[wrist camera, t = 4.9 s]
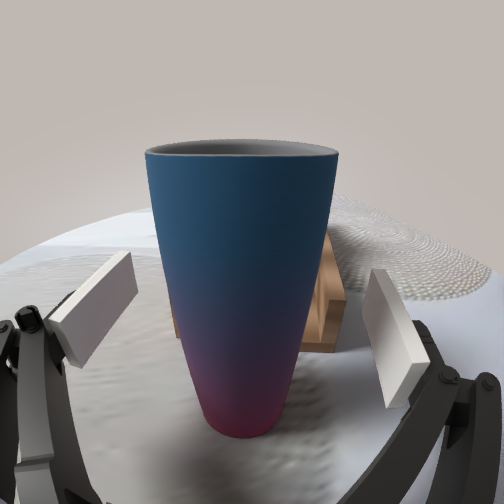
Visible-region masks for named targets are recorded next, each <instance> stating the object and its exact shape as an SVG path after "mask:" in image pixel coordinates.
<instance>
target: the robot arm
mask: <svg viewBox="0 0 504 504" xmlns="http://www.w3.org/2000/svg"><path fill="white" fill-rule="evenodd" d="M137 293H138V289H137V284H136V279H135V274H134V269H133V264H132V258H131V253H130V251H120V250H119V251H118V252H117V253H116V254H115V255H114V256H113V257H111V258H110V259H109V260H108V261H107V262H106V263H105V264H104V265H103V266H102V267H100V268H99V269H98V270H97V271H96V272H95V273H94V274H93V275H92V276H91V277H90V278H89V279H88V280H87V281H86V282H84V283H83V284H82V285H81V286H80V287H79V288H78V289H77V290H75V291H73V292H72V293H70V294H68V295H67V296H66V297H65V298H64V299H63V300H62V302H60V303H59V304H58V306H56V307H55V308H54V309H53V310H52V311H51V312H50V313H49V314H48V315H47V316H46V317H45V318H44V319H43V320H42V318H41V315H40V313H39V311H38V308H37V307H36V306H33V305H29V306H25V307H23V308H21V309H20V310H19V311H18V312H17V313H16V314H15V319H16V321H17V323H18V326H19V328H20V329H15V327H14V325H13V323H12V321H10V320H4V321H0V504H14V499H15V488H16V485H17V490H18V495H19V500H20V504H102V502H101V500H100V498H99V496H98V495H97V494H96V492H95V491H94V489H93V488H92V486H91V484H90V481H89V478H88V475H87V472H86V469H85V465H84V462H83V459H82V455H81V451H80V448H79V444H78V440H77V436H76V431H75V427H74V422H73V417H72V412H71V407H70V401H69V395H68V389H67V382H66V374H65V366H64V363H63V361H62V360H63V358H64V357H65V356H66V358H67V359H68V361H69V363H70V365H73V366H75V367H78V368H81V369H82V368H83V366H84V365H85V364H86V362H87V361H88V359H89V358H90V356H91V355H92V354H93V352H94V351H95V349H96V348H97V347H98V345H99V344H100V342H101V341H102V340H103V338H104V337H105V335H106V334H107V333H108V331H109V330H110V329H111V327H112V326H113V325H114V323H115V322H116V321H117V319H118V318H119V317H120V315H121V314H122V313H123V311H124V310H125V309H126V307H127V306H128V305H129V303H130V302H131V301H132V300H133V298H134V297H135V296H136V294H137ZM361 313H362V316H363V319H364V323H365V326H366V330H367V333H368V337H369V340H370V344H371V348H372V351H373V355H374V359H375V363H376V367H377V371H378V375H379V379H380V383H381V388H382V392H383V396H384V401H385V406H386V409H390V408H400V407H403V406H404V404H405V403H406V401H407V400H408V399H409V403H410V408H409V409H408V411H407V412H406V413H405V415H404V416H403V418H402V419H401V422H400V423H399V425H398V427H397V428H396V430H395V431H394V433H393V434H392V436H391V437H390V438H389V440H388V441H387V443H386V444H385V446H384V447H383V448H382V450H381V451H380V452H379V454H378V455H377V456H376V458H375V459H374V460H373V462H372V463H371V464H370V466H369V467H368V468H367V469H366V471H365V472H364V473H363V474H362V476H361V477H360V478H359V479H358V480H357V481H356V483H355V484H354V485H353V486H352V487H351V488H350V490H349V491H348V492H347V493H346V494H345V495H344V496H343V497H342V498H341V499H340V500H339V502H338V503H337V504H399V503H400V502H401V500H402V499H403V497H404V496H405V495H406V493H407V492H408V490H409V488H410V487H411V485H412V484H413V482H414V481H415V479H416V477H417V476H418V474H419V472H420V471H421V469H422V467H423V465H424V464H425V462H426V460H427V458H428V456H429V455H430V453H431V451H432V449H433V447H434V445H435V443H436V441H437V439H438V437H439V435H440V433H441V431H442V429H443V426H444V425H446V426H445V432H444V437H443V442H442V447H441V452H440V456H439V460H438V464H437V468H436V472H435V476H434V479H433V483H432V486H431V489H430V492H429V495H428V499H427V501H426V504H493V502H494V497H495V491H496V485H497V479H498V471H499V463H500V452H501V434H502V402H501V386H500V382H499V381H498V379H497V378H496V377H495V376H494V375H493V374H491V373H488V372H483V373H480V374H479V375H478V377H477V378H476V379H475V380H469V379H463V378H460V375H459V373H458V372H457V371H456V370H455V369H453V368H452V367H450V366H447V365H445V363H444V361H443V359H442V357H441V355H440V352H439V350H438V348H437V346H436V344H435V343H434V340H433V338H432V337H431V334H430V332H429V330H428V328H427V327H426V326H425V325H424V324H423V323H422V322H421V321H420V320H411V318H410V316H409V314H408V312H407V310H406V308H405V306H404V304H403V302H402V300H401V298H400V296H399V294H398V292H397V290H396V288H395V287H394V285H393V283H392V281H391V279H390V277H389V275H388V274H387V272H386V270H385V269H372V271H371V275H370V279H369V283H368V287H367V291H366V295H365V299H364V303H363V307H362V310H361ZM7 359H8V361H9V362H10V366H9V367H8V366H7V365H6V360H7ZM19 441H20V451H21V463H18V464H17V454H18V444H19ZM106 504H111V503H108V502H106Z"/></svg>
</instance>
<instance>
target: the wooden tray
mask: <svg viewBox="0 0 504 504" xmlns="http://www.w3.org/2000/svg"><path fill="white" fill-rule="evenodd" d="M168 293H169V291H168ZM169 299H170V296H169ZM170 305H171V311H172V317H173V322H174V328H175V333H176V338H180V335H179V332H178V328H177V324H176V320H175V316H174V312H173V308H172V304H171V300H170ZM345 305H346V297H345V293H344V289H343V285H342V281H341V278H340V274H339V270H338V267H337V263H336V260H335V256H334V253H333V249H332V246H331V242H330V239H329V236H328V232H327V230H326V235H325V240H324V245H323V250H322V255H321V260H320V265H319V270H318V275H317V279H316V284H315V288H314V293H313V297H312V301H311V306H310V310H309V314H308V318H307V322H306V326H305V330H304V334H303V338H302V342H301V346H300V350H299V351H303V352H325V353H333V351H334V348H335V344H336V340H337V337H338V333H339V329H340V325H341V321H342V317H343V313H344V309H345Z"/></svg>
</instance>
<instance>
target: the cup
mask: <svg viewBox="0 0 504 504" xmlns="http://www.w3.org/2000/svg"><path fill="white" fill-rule="evenodd" d="M338 155H339V153H338V151H336V150H334V149H331V148H328V147H324V146H319V145H313V144H307V143H298V142H289V141H277V140H257V139H221V140H201V141H189V142H180V143H173V144H167V145H161V146H157V147H153V148H150V149H148V150H146V151H145V159H146V167H147V175H148V183H149V190H150V196H151V203H152V209H153V215H154V221H155V227H156V233H157V238H158V244H159V249H160V254H161V259H162V264H163V269H164V273H165V278H166V282H167V287H168V291H169V296H170V300H171V304H172V308H173V312H174V316H175V320H176V324H177V328H178V332H179V335H180V339H181V343H182V346H183V350H184V353H185V357H186V360H187V364H188V367H189V370H190V374H191V377H192V380H193V383H194V387H195V390H196V393H197V396H198V399H199V402H200V405H201V408H202V411H203V414H204V416H205V418H206V420H207V422H208V423H209V424H210V425H211V426H212V427H213V428H214V429H215V430H217V431H218V432H220V433H222V434H224V435H227V436H231V437H235V438H250V437H254V436H258V435H261V434H263V433H265V432H267V431H268V430H269V429H271V428H272V427H273V426H274V425H275V424H276V423H277V421H278V419H279V417H280V415H281V412H282V409H283V405H284V402H285V399H286V395H287V392H288V389H289V385H290V382H291V378H292V375H293V371H294V368H295V364H296V361H297V357H298V353H299V350H300V346H301V342H302V338H303V334H304V330H305V326H306V322H307V318H308V314H309V310H310V306H311V301H312V297H313V293H314V288H315V284H316V279H317V275H318V270H319V265H320V260H321V255H322V250H323V245H324V240H325V235H326V230H327V224H328V219H329V213H330V207H331V201H332V195H333V189H334V183H335V176H336V169H337V162H338Z"/></svg>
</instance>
